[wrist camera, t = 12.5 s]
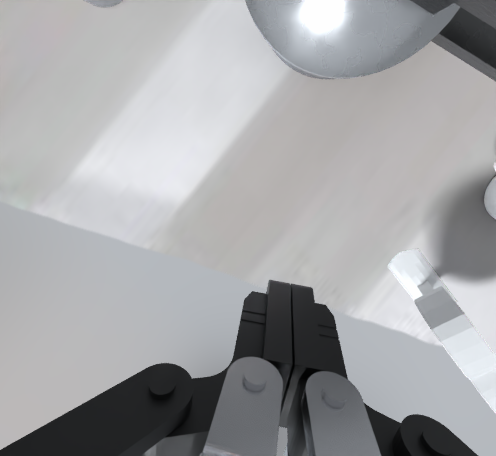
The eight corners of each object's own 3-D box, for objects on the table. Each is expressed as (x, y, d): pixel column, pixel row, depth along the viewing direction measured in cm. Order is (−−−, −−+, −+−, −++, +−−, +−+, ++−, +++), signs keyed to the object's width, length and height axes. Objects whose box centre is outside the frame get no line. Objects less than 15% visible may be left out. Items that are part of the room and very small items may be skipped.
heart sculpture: (463, 310, 49) (552, 418, 32) (433, 324, 50) (503, 435, 34) (411, 238, 45) (480, 319, 29) (380, 257, 47) (429, 343, 31)
